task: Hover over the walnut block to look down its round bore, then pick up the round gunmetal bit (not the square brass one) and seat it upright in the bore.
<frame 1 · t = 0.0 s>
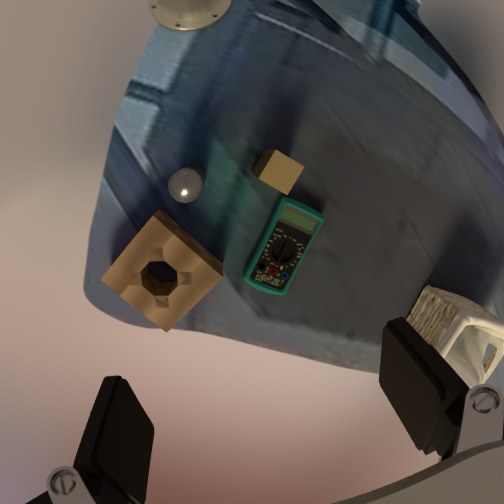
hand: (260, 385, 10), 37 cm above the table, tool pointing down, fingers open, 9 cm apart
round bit: (191, 178, 43), on the table
digital multimeter: (281, 243, 49), on the table
storage basket: (438, 322, 58), on the table
square bit: (269, 167, 44), on the table
bore block: (164, 265, 47), on the table
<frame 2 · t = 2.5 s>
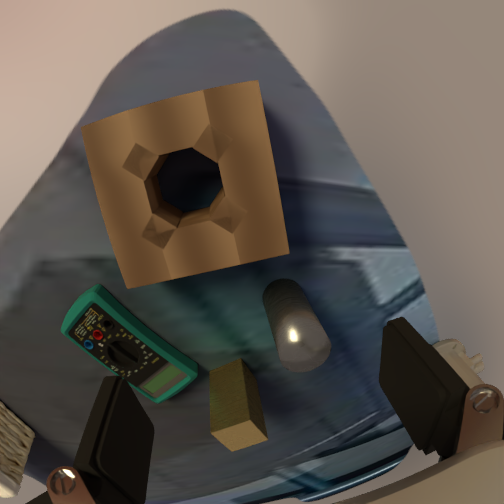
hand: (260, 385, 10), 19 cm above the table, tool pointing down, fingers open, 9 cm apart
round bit: (282, 296, 31), on the table
digital multimeter: (131, 341, 31), on the table
square bit: (233, 375, 34), on the table
bore block: (189, 179, 26), on the table
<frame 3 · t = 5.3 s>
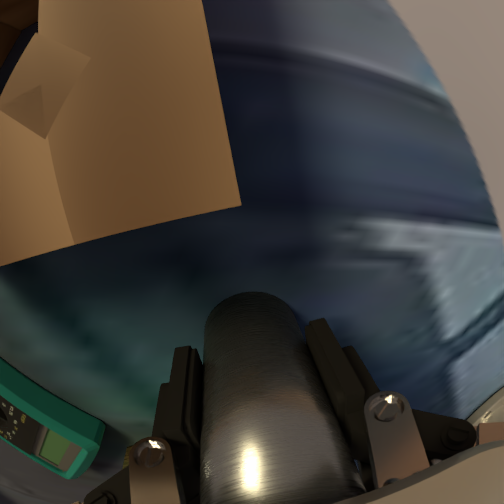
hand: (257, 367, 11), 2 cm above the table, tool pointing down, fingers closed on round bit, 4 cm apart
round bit: (251, 332, 13), on the table, touching gripper
digital multimeter: (7, 384, 14), on the table
bore block: (44, 68, 8), on the table
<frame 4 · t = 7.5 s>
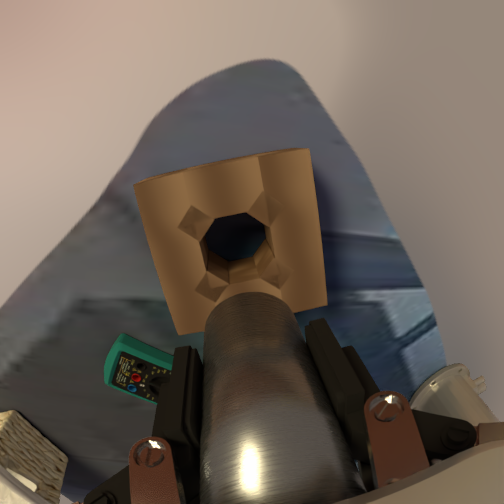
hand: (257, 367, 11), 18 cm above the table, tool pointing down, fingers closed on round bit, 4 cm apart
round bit: (251, 332, 13), point 16 cm above the table, touching gripper
digital multimeter: (170, 373, 34), on the table
storage basket: (16, 436, 37), on the table
bore block: (234, 231, 28), on the table
when the fingers open (6 cm above the table, at t = 10.3 s): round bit drops 3 cm, resting in bore block.
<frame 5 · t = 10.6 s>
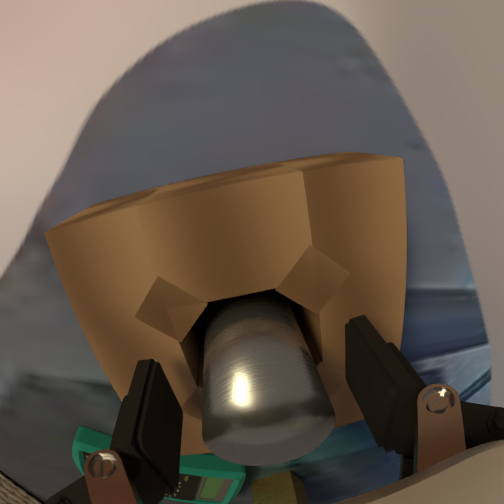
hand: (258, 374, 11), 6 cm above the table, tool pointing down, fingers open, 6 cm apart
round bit: (244, 296, 16), resting in bore block
digital multimeter: (159, 459, 22), on the table
square bit: (277, 482, 24), on the table
bore block: (244, 295, 16), on the table
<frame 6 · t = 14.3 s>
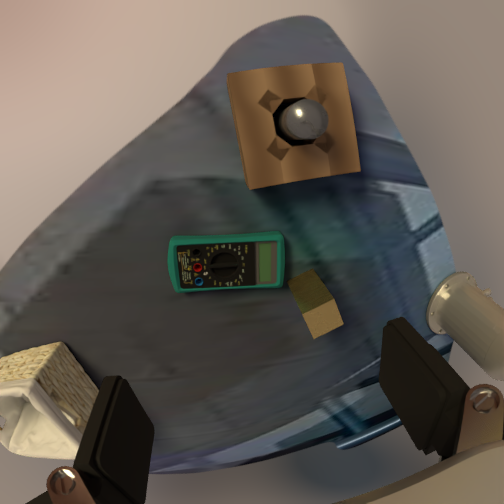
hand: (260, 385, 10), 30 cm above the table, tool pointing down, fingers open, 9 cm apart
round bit: (288, 124, 36), resting in bore block
digital multimeter: (227, 257, 41), on the table
storage basket: (46, 376, 45), on the table
square bit: (304, 286, 43), on the table
bore block: (288, 124, 36), on the table
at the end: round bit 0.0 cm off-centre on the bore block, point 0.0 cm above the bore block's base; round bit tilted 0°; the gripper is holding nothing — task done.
